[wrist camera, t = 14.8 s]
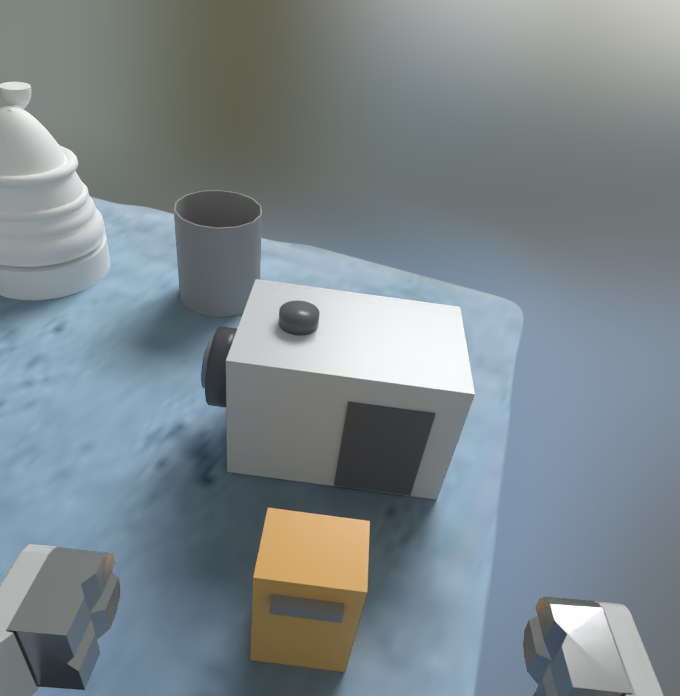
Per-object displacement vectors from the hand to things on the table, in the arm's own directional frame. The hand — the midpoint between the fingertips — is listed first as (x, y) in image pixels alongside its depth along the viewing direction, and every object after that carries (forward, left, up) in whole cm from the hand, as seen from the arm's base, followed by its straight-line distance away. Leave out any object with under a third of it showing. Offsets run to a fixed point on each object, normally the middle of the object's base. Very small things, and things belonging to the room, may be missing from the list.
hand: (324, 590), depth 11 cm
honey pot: (+9, +55, -25) cm, 61 cm away
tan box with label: (+7, +7, -24) cm, 27 cm away
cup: (+22, +41, -25) cm, 53 cm away
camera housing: (+18, +19, -24) cm, 36 cm away
